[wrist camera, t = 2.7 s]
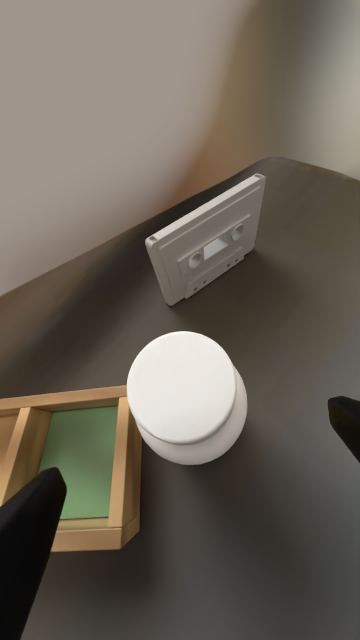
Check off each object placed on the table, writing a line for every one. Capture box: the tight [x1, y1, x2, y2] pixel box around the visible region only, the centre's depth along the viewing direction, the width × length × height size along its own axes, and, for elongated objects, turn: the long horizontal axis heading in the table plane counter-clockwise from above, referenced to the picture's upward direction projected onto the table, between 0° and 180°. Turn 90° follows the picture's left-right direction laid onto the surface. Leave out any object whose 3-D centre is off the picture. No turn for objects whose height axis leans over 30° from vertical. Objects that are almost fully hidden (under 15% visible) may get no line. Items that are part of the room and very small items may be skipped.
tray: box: [0, 385, 142, 552], centre depth 15 cm, size 8×15×3 cm, turn 94°
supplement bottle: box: [127, 331, 247, 465], centre depth 12 cm, size 5×5×10 cm
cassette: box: [145, 174, 266, 306], centre depth 20 cm, size 12×2×8 cm, turn 127°
